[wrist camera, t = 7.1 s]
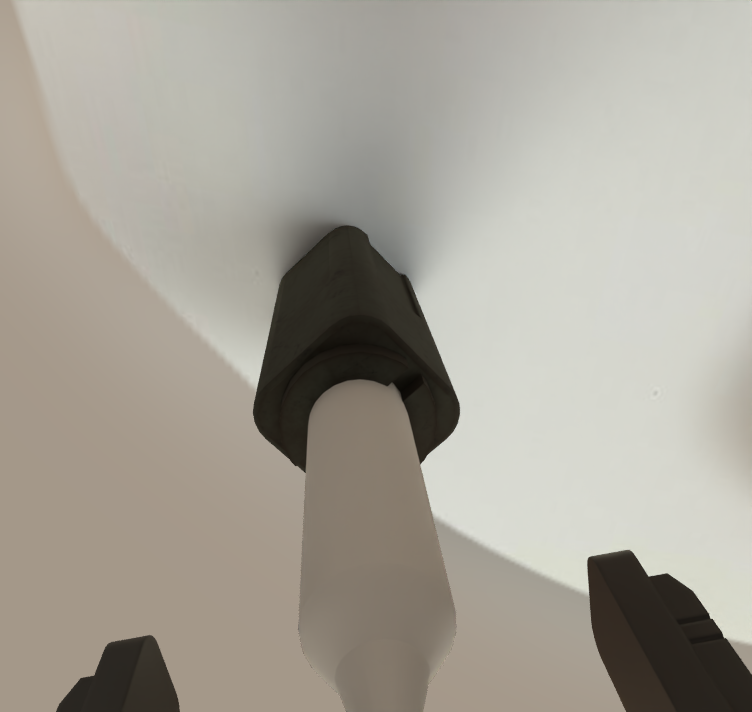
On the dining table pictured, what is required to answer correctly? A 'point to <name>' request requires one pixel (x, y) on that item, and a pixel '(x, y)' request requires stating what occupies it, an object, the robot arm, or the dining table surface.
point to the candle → (362, 470)
